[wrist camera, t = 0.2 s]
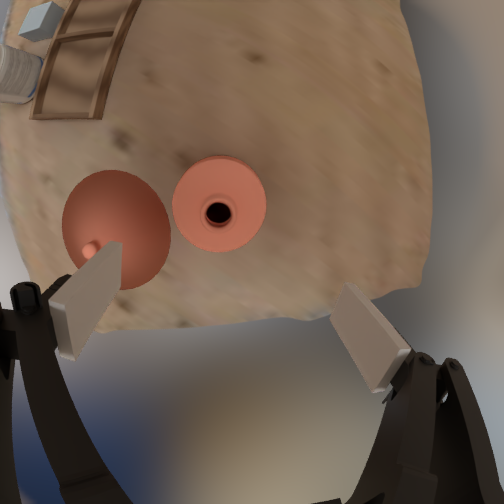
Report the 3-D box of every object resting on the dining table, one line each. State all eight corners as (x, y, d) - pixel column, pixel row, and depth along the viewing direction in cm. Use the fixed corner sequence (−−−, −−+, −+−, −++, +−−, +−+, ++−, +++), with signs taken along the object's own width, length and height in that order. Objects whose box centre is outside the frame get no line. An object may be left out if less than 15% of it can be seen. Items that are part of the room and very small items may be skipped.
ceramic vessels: (94, 302, 44) (51, 368, 27) (46, 201, 37) (-25, 233, 19) (272, 239, 44) (305, 298, 26) (229, 112, 36) (234, 78, 18)
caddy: (81, -3, 23) (74, -9, 20) (146, -11, 25) (142, -20, 22) (39, 120, 31) (28, 119, 28) (101, 119, 34) (92, 117, 30)
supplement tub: (46, 48, 26) (0, 29, 12) (51, 86, 29) (-1, 73, 16) (12, 77, 26) (-35, 68, 12) (16, 114, 29) (-36, 112, 16)
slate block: (44, 17, 22) (30, 8, 17) (66, 11, 24) (52, 1, 18) (34, 42, 24) (17, 34, 19) (55, 37, 25) (39, 27, 20)
